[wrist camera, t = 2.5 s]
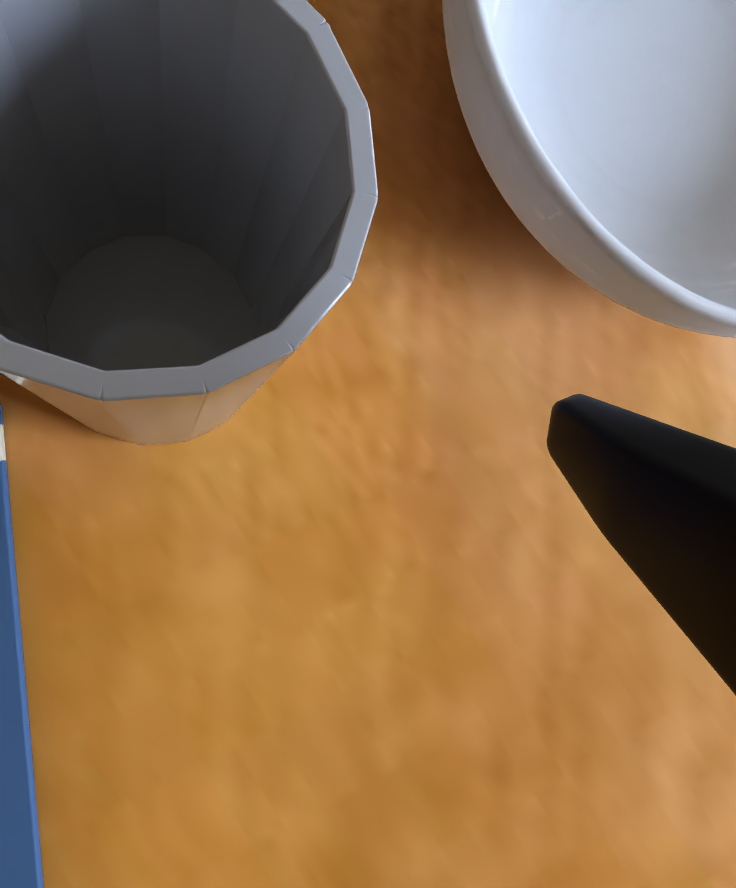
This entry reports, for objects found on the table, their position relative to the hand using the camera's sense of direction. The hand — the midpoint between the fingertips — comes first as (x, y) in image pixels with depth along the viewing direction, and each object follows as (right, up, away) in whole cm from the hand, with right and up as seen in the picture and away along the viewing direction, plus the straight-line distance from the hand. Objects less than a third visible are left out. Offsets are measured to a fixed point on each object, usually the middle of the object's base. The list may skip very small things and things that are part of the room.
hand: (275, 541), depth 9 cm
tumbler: (-6, +5, +12) cm, 14 cm away
